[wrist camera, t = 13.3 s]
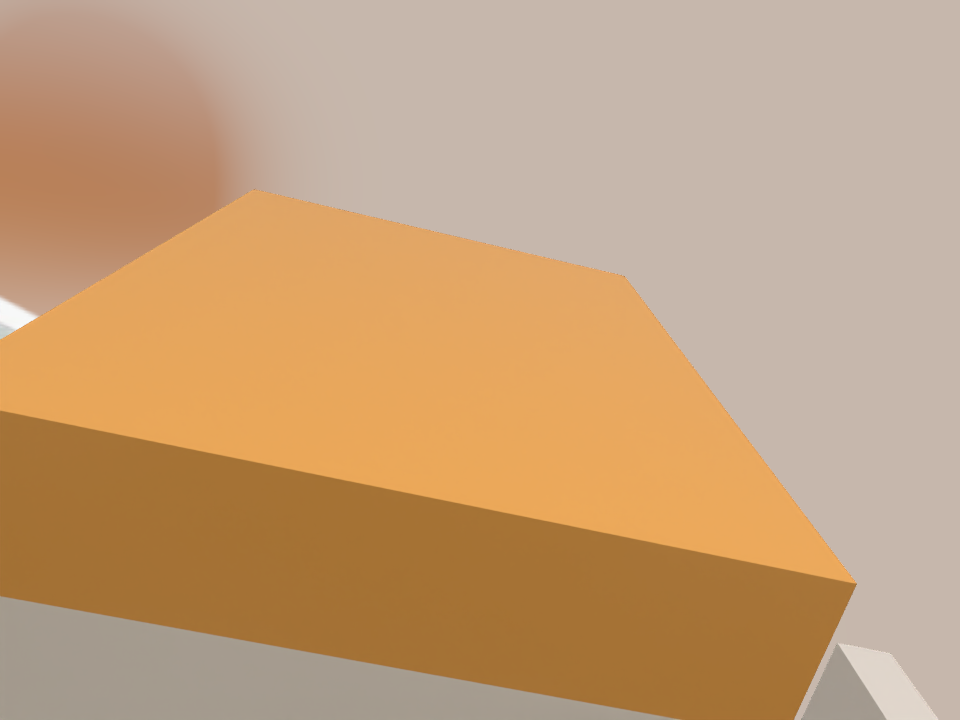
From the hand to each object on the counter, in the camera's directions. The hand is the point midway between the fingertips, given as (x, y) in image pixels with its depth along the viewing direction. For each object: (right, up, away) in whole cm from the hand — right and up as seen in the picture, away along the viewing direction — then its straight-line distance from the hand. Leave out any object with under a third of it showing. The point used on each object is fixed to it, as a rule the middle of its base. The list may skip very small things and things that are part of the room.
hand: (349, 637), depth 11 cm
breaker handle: (-2, -8, -1) cm, 8 cm away
